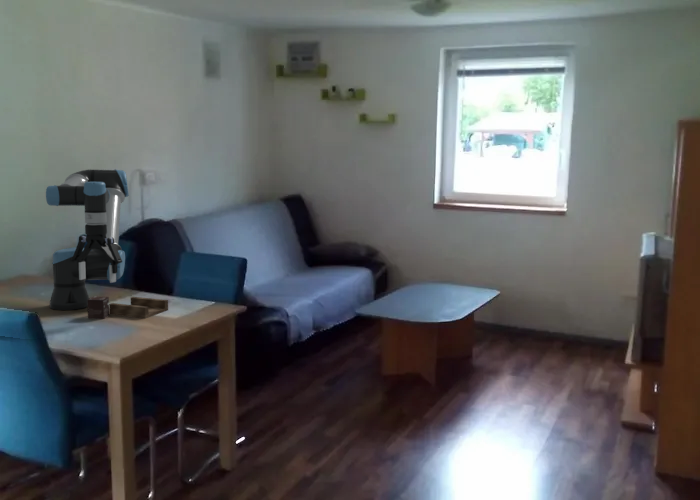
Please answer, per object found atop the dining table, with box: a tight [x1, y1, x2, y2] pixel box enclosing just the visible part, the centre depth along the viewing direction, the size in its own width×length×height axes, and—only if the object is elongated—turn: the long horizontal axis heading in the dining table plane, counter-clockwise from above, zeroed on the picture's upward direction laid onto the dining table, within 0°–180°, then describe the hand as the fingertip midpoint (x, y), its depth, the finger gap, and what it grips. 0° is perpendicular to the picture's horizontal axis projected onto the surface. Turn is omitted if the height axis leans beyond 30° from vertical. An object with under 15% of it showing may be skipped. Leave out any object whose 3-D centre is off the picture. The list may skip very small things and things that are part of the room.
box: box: [87, 296, 110, 320], centre depth 257 cm, size 6×6×7 cm
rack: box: [109, 296, 169, 319], centre depth 266 cm, size 16×15×4 cm
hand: (97, 280), depth 255 cm, fingers open, 13 cm apart
